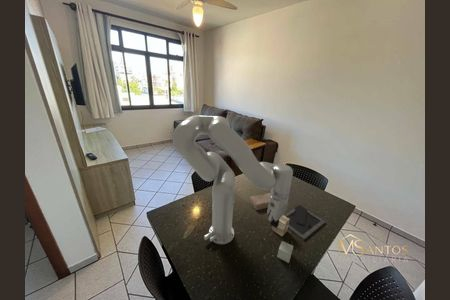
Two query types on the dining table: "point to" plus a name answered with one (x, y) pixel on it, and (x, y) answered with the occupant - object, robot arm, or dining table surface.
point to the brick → (260, 201)
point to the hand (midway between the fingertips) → (274, 225)
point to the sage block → (285, 251)
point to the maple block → (282, 226)
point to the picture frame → (303, 222)
